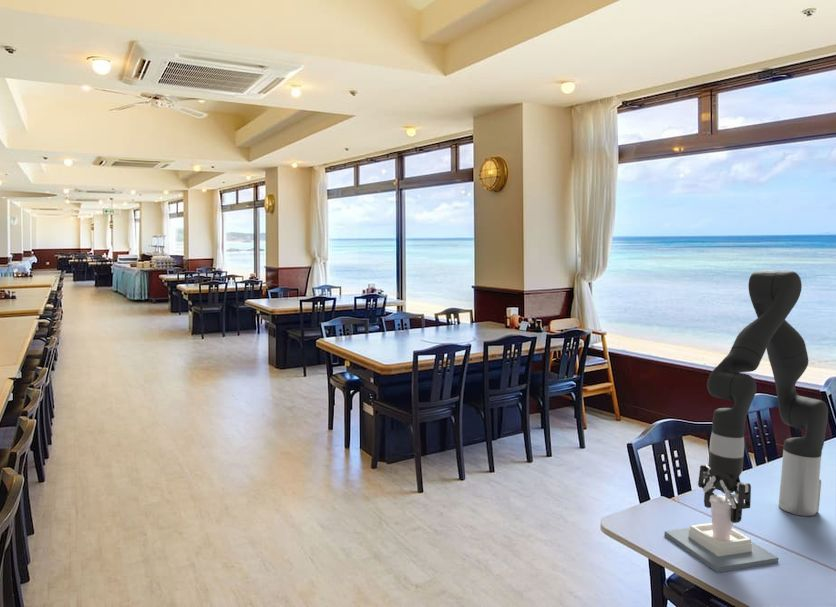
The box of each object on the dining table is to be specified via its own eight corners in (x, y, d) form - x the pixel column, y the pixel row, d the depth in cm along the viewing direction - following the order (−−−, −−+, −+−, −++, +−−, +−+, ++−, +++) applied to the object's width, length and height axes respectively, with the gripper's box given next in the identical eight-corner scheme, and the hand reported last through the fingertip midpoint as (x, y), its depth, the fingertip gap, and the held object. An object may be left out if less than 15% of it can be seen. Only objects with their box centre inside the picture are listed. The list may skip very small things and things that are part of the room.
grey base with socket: (720, 527, 159) (721, 512, 158) (778, 562, 142) (779, 545, 141) (664, 535, 154) (665, 519, 153) (716, 572, 136) (718, 555, 136)
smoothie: (739, 544, 143) (743, 489, 142) (710, 541, 145) (715, 486, 143) (730, 532, 149) (735, 479, 148) (703, 529, 151) (707, 476, 149)
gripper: (762, 460, 139) (757, 525, 141) (716, 441, 153) (712, 500, 155) (737, 463, 137) (731, 529, 139) (692, 443, 151) (688, 503, 152)
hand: (721, 514), depth 147 cm, fingers open, 8 cm apart
